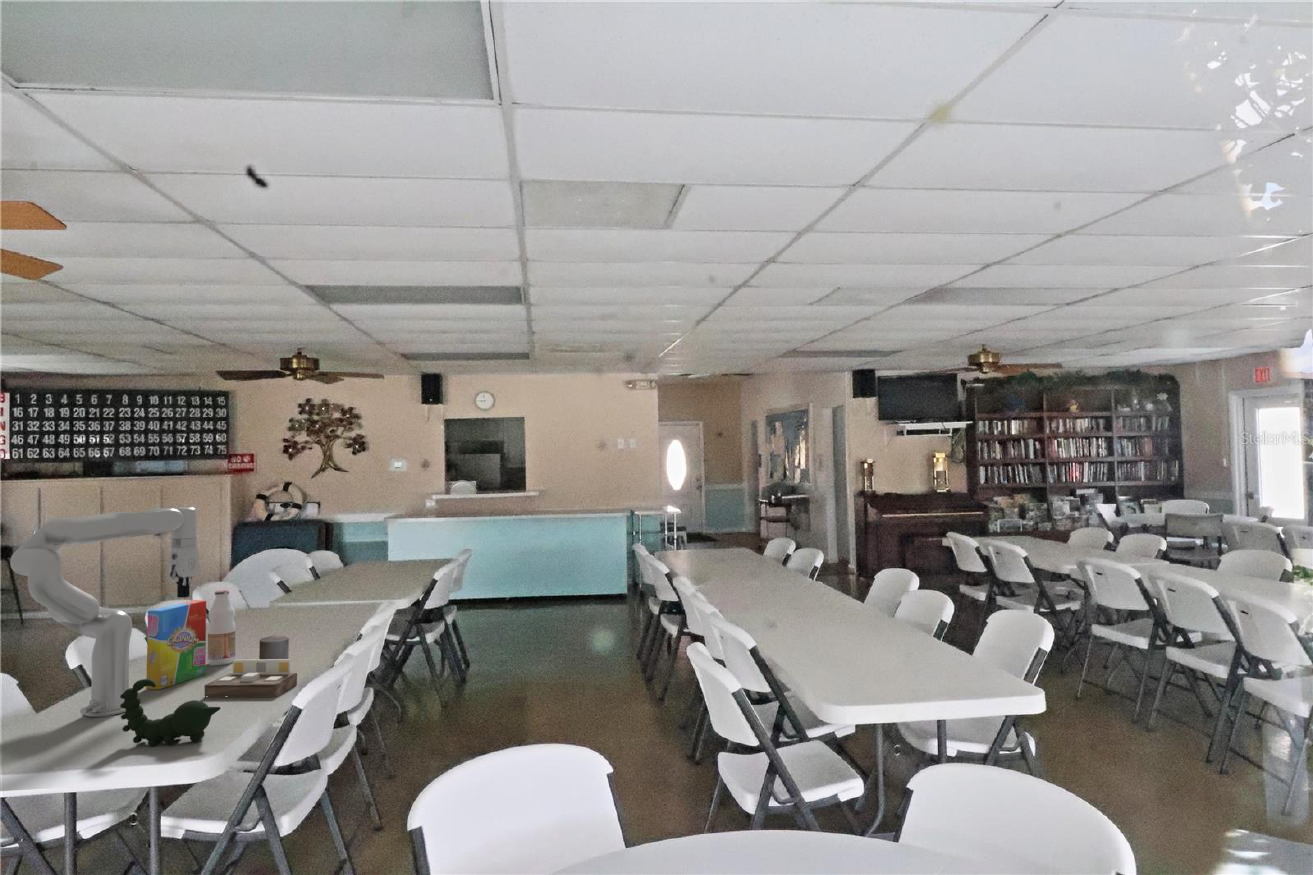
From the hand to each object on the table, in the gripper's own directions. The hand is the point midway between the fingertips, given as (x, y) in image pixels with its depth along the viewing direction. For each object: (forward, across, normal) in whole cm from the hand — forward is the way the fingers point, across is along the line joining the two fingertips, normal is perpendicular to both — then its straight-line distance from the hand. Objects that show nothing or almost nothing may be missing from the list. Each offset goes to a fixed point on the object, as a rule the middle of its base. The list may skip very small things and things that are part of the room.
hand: (183, 596), depth 257 cm
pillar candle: (+32, +18, -22) cm, 43 cm away
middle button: (+29, -1, -24) cm, 37 cm away
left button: (+30, -1, -16) cm, 34 cm away
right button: (+30, -1, -32) cm, 44 cm away
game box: (+32, +12, +10) cm, 36 cm away
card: (+28, +6, -24) cm, 37 cm away
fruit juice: (+32, +37, +9) cm, 50 cm away
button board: (+32, 0, -24) cm, 40 cm away
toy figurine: (+32, -47, -28) cm, 64 cm away
